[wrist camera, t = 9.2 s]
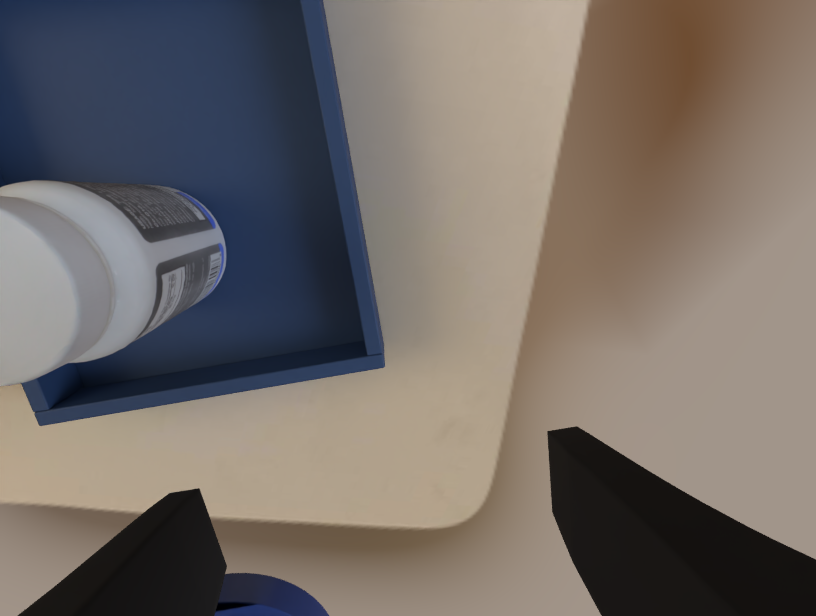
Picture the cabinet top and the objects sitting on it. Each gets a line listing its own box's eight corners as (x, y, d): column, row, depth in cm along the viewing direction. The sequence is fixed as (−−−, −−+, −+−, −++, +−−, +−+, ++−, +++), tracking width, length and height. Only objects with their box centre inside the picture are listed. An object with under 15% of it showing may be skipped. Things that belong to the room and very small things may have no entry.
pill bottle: (80, 207, 16) (-223, 216, 8) (199, 169, 16) (18, 140, 8) (137, 322, 17) (-74, 432, 9) (248, 287, 17) (134, 367, 9)
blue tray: (384, 345, 19) (385, 368, 16) (84, 395, 19) (38, 427, 16) (312, -57, 15) (300, -108, 12) (-70, -4, 15) (-163, -46, 12)
